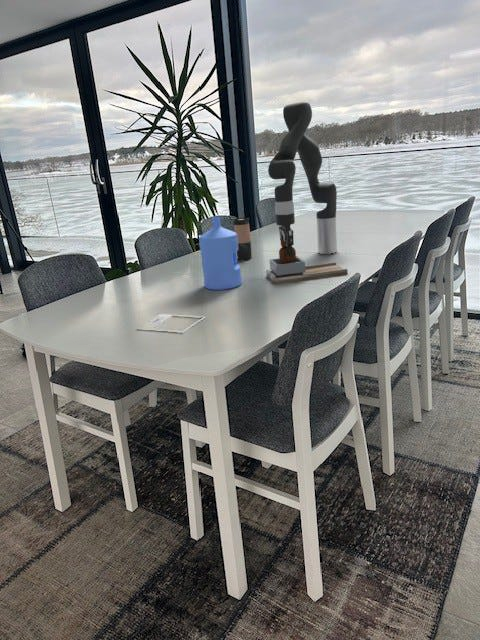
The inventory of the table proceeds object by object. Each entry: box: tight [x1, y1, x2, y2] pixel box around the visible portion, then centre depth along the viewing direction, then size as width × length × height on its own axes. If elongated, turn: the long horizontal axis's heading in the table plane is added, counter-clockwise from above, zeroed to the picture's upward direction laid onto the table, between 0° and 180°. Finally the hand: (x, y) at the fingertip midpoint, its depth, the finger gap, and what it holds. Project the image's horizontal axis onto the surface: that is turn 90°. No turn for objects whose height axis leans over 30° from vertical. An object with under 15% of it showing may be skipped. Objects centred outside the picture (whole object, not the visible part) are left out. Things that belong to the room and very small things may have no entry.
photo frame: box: [147, 313, 206, 334], centre depth 167 cm, size 15×1×18 cm
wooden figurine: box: [278, 235, 297, 264], centre depth 205 cm, size 7×6×15 cm
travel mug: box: [233, 217, 252, 261], centre depth 248 cm, size 8×8×20 cm
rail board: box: [266, 261, 349, 285], centre depth 209 cm, size 14×31×3 cm, turn 100°
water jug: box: [198, 216, 243, 291], centre depth 202 cm, size 16×16×28 cm
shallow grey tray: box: [269, 255, 306, 278], centre depth 207 cm, size 12×12×6 cm
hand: (287, 253), depth 205 cm, fingers closed on wooden figurine, 6 cm apart
